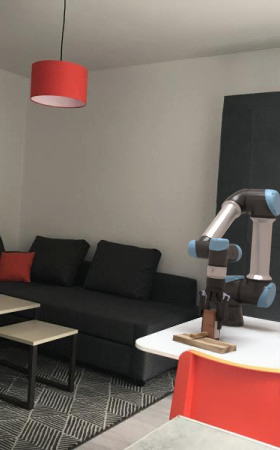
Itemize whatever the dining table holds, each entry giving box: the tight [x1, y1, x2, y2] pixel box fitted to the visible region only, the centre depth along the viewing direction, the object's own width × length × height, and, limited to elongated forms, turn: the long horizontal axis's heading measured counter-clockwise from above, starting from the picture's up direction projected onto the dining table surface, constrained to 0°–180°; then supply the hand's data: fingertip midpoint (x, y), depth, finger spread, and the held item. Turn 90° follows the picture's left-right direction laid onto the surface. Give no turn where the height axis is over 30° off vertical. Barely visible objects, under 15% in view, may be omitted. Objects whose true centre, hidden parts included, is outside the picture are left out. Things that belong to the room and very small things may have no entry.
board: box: [172, 332, 237, 355], centre depth 192 cm, size 10×22×2 cm, turn 49°
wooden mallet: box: [190, 308, 221, 341], centre depth 197 cm, size 16×4×12 cm, turn 139°
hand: (210, 336), depth 201 cm, fingers closed on wooden mallet, 4 cm apart
